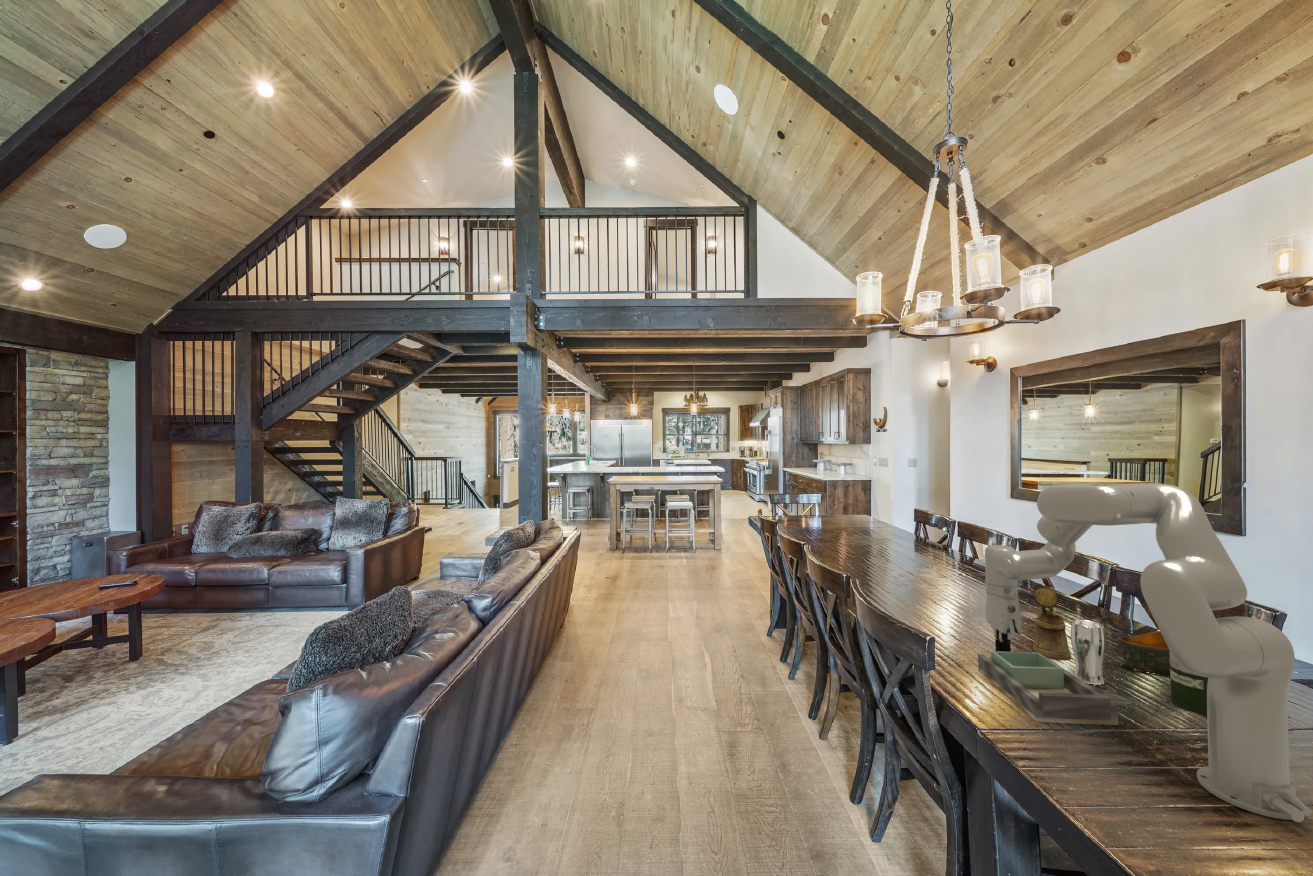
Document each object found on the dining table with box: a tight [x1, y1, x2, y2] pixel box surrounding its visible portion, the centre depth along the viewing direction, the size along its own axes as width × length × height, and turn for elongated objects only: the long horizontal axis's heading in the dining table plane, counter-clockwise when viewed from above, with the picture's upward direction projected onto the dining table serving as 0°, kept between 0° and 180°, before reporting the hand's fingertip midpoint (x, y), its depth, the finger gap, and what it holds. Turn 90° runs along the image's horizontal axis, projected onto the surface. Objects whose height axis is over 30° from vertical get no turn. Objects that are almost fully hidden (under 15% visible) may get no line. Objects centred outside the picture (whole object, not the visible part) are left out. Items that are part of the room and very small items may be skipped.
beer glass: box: [1070, 618, 1106, 686], centre depth 135 cm, size 7×7×15 cm
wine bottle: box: [1169, 651, 1208, 715], centre depth 121 cm, size 8×8×30 cm
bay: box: [977, 653, 1119, 726], centre depth 128 cm, size 26×17×6 cm, turn 173°
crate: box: [990, 650, 1064, 689], centre depth 134 cm, size 10×12×5 cm
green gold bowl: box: [1117, 630, 1170, 676], centre depth 140 cm, size 13×20×10 cm, turn 60°
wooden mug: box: [1032, 585, 1072, 661], centre depth 153 cm, size 9×14×18 cm, turn 151°
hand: (1003, 654), depth 144 cm, fingers closed
